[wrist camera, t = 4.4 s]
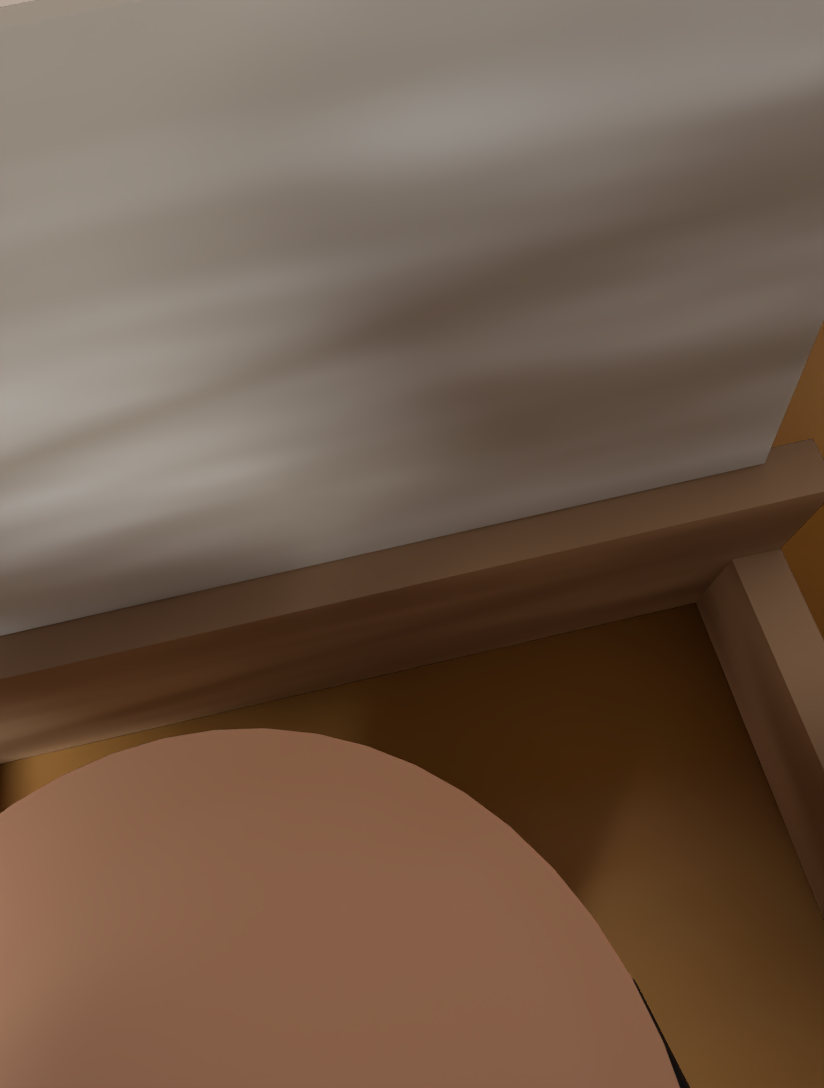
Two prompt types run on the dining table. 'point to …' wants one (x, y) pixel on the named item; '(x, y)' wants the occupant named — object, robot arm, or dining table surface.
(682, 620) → the dining table surface
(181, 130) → the wooden frame armchair
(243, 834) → the mushroom-shaped peg
